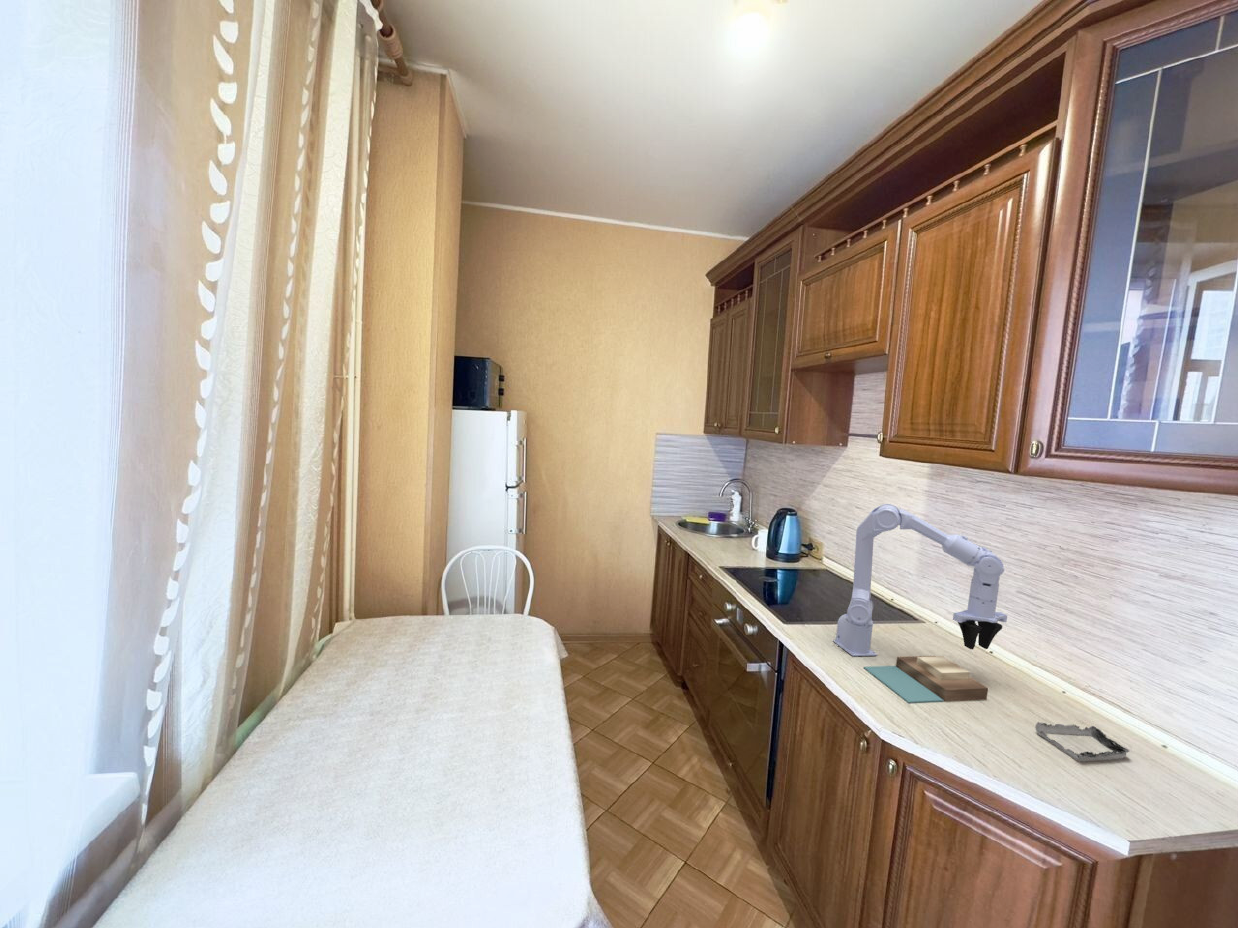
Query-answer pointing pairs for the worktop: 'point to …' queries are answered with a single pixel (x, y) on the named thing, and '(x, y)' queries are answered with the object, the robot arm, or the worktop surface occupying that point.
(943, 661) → the cream square slab
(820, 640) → the worktop surface
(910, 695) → the rubber mat
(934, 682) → the walnut board
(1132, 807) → the worktop surface
